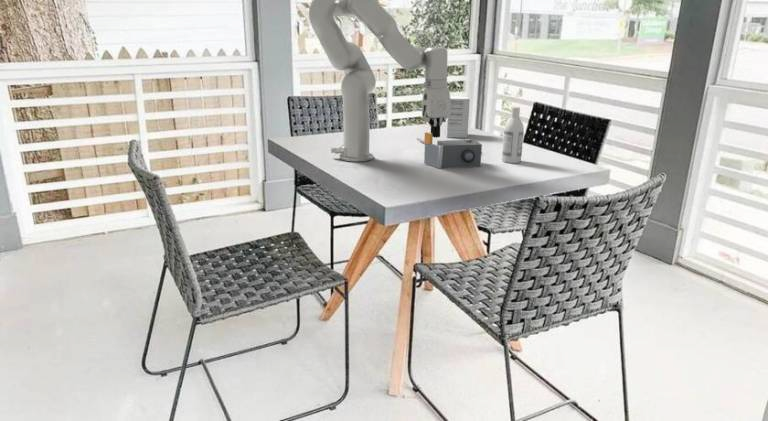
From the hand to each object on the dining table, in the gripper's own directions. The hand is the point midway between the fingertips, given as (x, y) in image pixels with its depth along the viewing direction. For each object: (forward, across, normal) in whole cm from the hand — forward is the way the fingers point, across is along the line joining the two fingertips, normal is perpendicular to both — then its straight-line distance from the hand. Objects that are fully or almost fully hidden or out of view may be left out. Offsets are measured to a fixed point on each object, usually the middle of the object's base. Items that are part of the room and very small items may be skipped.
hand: (435, 136), depth 210 cm
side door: (+10, -3, -2) cm, 10 cm away
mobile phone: (+10, +16, +10) cm, 21 cm away
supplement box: (+10, +42, +32) cm, 53 cm away
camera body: (+10, +6, -5) cm, 13 cm away
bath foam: (+11, +26, -13) cm, 31 cm away
